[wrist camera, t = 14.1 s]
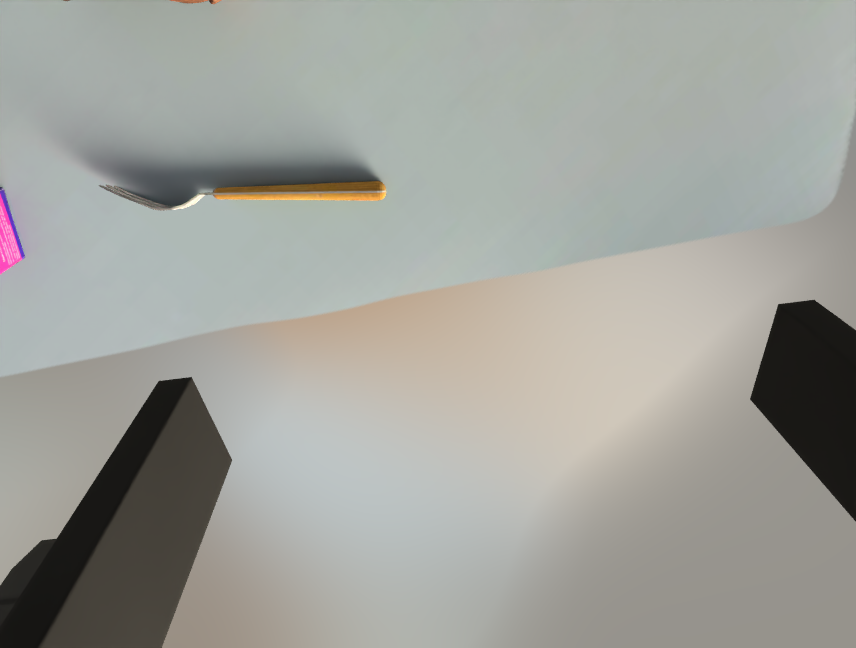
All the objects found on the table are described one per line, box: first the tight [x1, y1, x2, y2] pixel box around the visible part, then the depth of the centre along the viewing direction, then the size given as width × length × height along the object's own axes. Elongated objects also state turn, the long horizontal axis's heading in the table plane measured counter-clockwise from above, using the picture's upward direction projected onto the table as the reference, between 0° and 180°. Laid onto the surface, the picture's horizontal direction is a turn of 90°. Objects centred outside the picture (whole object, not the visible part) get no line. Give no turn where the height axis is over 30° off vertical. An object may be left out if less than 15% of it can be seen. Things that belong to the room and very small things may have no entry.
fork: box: [99, 181, 386, 211], centre depth 37 cm, size 2×2×20 cm
